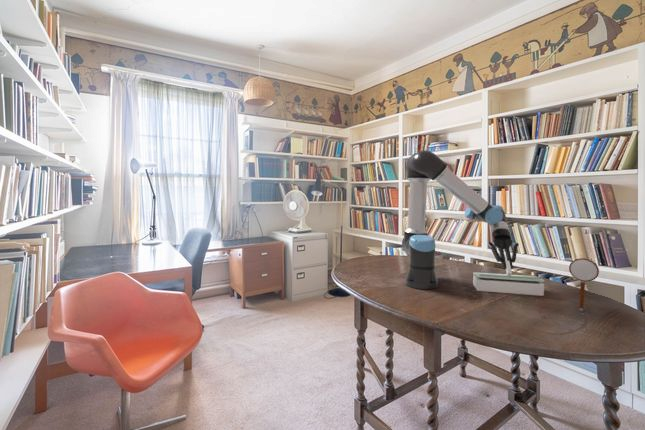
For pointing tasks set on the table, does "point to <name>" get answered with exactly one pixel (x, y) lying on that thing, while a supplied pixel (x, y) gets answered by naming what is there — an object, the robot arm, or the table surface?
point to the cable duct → (508, 286)
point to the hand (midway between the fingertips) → (509, 274)
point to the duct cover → (508, 277)
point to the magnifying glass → (583, 274)
